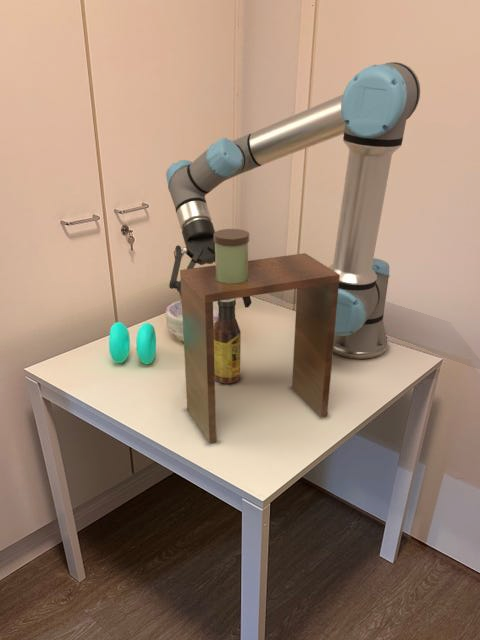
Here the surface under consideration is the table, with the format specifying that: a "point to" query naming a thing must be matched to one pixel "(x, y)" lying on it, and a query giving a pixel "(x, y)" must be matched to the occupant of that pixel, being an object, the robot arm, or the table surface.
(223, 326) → the sauce bottle
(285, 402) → the table surface
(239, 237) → the spice jar
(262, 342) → the table surface
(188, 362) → the shelf
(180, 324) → the paper bowls
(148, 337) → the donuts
